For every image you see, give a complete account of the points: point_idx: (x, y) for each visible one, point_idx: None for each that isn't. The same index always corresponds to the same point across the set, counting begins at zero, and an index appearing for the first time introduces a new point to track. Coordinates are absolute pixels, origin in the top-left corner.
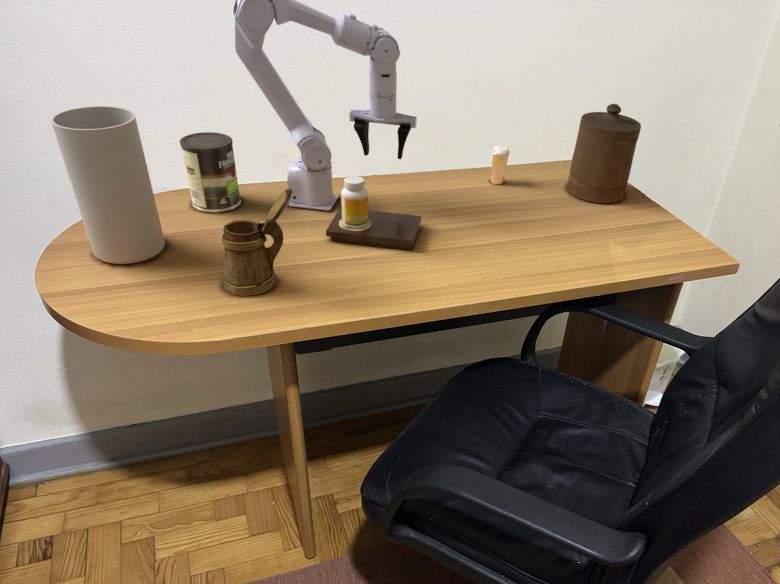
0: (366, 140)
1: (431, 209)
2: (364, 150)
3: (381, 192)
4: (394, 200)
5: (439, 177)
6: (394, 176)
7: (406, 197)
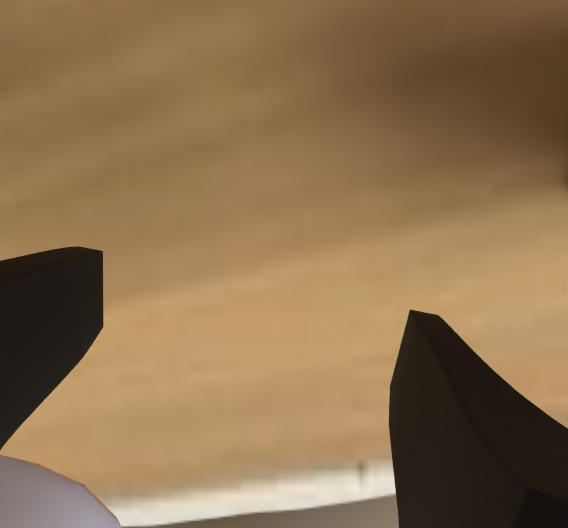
0: (427, 432)
1: (35, 88)
2: (444, 328)
3: (319, 282)
4: (242, 186)
5: (65, 452)
6: (263, 460)
7: (183, 231)
